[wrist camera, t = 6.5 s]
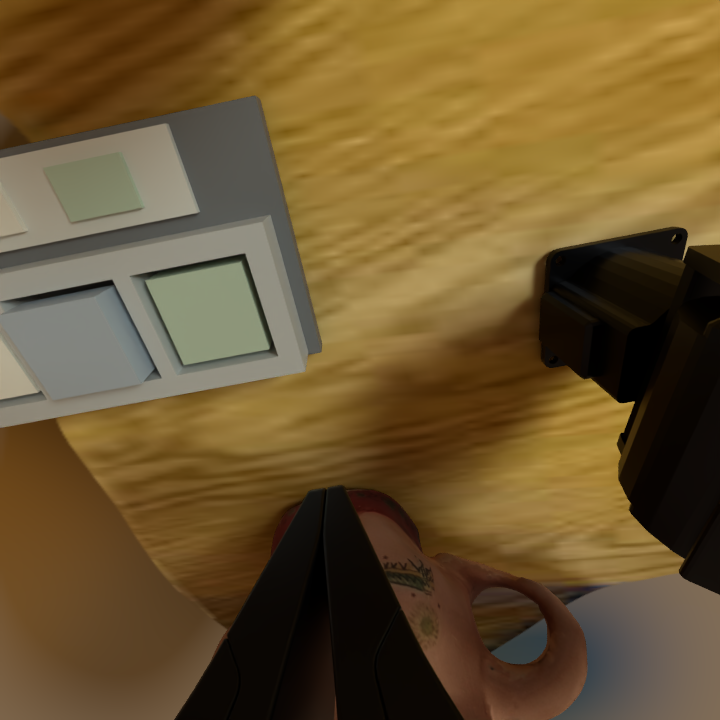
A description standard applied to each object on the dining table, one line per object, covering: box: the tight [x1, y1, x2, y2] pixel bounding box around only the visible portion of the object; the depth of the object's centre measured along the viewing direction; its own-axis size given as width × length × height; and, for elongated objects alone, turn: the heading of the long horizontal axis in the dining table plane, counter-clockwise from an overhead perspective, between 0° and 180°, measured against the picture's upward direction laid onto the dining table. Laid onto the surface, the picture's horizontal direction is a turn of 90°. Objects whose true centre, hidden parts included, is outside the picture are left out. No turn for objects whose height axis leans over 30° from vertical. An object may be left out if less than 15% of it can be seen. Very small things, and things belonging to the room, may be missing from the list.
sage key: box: [145, 254, 273, 365], centre depth 17 cm, size 4×4×2 cm
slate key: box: [0, 285, 156, 400], centre depth 16 cm, size 4×4×2 cm
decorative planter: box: [212, 489, 587, 720], centre depth 21 cm, size 20×12×14 cm, turn 115°
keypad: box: [0, 96, 322, 428], centre depth 17 cm, size 19×11×3 cm, turn 100°
